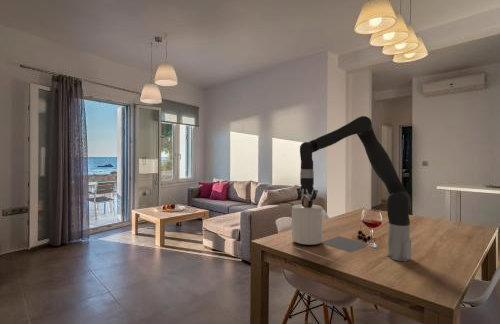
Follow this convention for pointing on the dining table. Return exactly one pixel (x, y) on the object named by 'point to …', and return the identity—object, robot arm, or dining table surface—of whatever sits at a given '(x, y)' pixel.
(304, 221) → the white cylindrical cover
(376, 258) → the dining table surface
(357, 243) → the mat
